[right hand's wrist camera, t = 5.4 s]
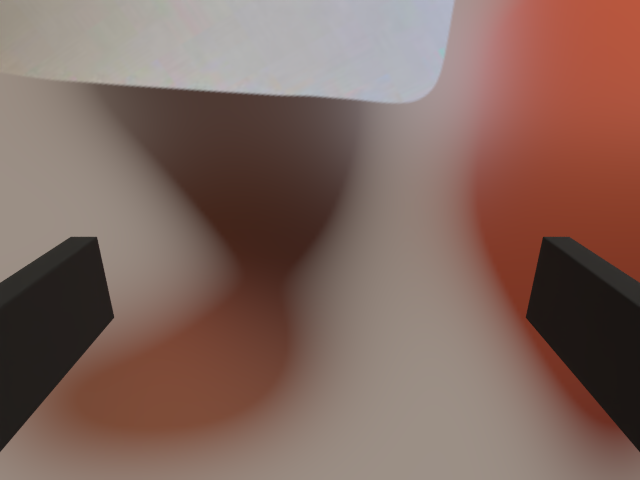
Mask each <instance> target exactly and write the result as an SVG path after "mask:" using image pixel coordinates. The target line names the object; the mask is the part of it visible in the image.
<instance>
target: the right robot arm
mask: <svg viewBox="0 0 640 480" xmlns="http://www.w3.org/2000/svg"><path fill="white" fill-rule="evenodd" d="M113 318H114V314H113V310H112V305H111V301H110V296H109V291H108V286H107V282H106V277H105V272H104V268H103V263H102V259H101V254H100V249H99V244H98V240H97V237H70V238H68V239H67V240H65V241H64V242H62V243H61V244H59V245H58V246H56V247H55V248H53V249H52V250H50V251H49V252H47V253H45V254H44V255H42V256H41V257H39V258H38V259H36V260H35V261H33V262H32V263H30V264H28V265H27V266H25V267H24V268H22V269H21V270H19V271H18V272H16V273H15V274H13V275H12V276H10V277H9V278H7V279H5V280H4V281H2V282H1V283H0V451H1V450H2V449H3V448H4V447H5V446H6V444H7V443H8V442H9V441H10V440H11V439H12V437H13V436H14V435H15V434H16V433H17V431H18V430H19V429H20V428H21V427H22V426H23V424H24V423H25V422H26V421H27V420H28V418H29V417H30V416H31V415H32V414H33V413H34V411H35V410H36V409H37V408H38V407H39V406H40V404H41V403H42V402H43V401H44V400H45V398H46V397H47V396H48V395H49V394H50V393H51V391H52V390H53V389H54V388H55V387H56V385H57V384H58V383H59V382H60V381H61V380H62V378H63V377H64V376H65V375H66V374H67V373H68V371H69V370H70V369H71V368H72V367H73V365H74V364H75V363H76V362H77V361H78V360H79V358H80V357H81V356H82V355H83V354H84V352H85V351H86V350H87V349H88V348H89V346H90V345H91V344H92V343H93V342H94V341H95V339H96V338H97V337H98V336H99V335H100V334H101V332H102V331H103V330H104V329H105V328H106V326H107V325H108V324H109V323H110V322H111V321H112V319H113ZM526 318H527V319H528V321H529V322H530V323H531V324H532V325H533V326H534V328H535V329H536V330H537V331H538V332H539V334H540V335H541V336H542V337H543V338H544V339H545V341H546V342H547V343H548V344H549V345H550V347H551V348H552V349H553V350H554V351H555V352H556V354H557V355H558V356H559V357H560V358H561V360H562V361H563V362H564V363H565V364H566V365H567V367H568V368H569V369H570V370H571V371H572V373H573V374H574V375H575V376H576V377H577V378H578V380H579V381H580V382H581V383H582V384H583V385H584V387H585V388H586V389H587V390H588V391H589V393H590V394H591V395H592V396H593V397H594V398H595V400H596V401H597V402H598V403H599V404H600V406H601V407H602V408H603V409H604V410H605V411H606V413H607V414H608V415H609V416H610V417H611V419H612V420H613V421H614V422H615V423H616V424H617V426H618V427H619V428H620V429H621V430H622V431H623V433H624V434H625V435H626V436H627V437H628V438H629V440H630V441H631V442H632V443H633V444H634V446H635V447H636V448H637V449H638V450H639V452H640V283H639V282H638V281H636V280H635V279H633V278H631V277H630V276H628V275H627V274H625V273H624V272H622V271H621V270H619V269H618V268H616V267H615V266H613V265H611V264H610V263H608V262H607V261H605V260H604V259H602V258H601V257H599V256H598V255H596V254H595V253H593V252H592V251H590V250H588V249H587V248H585V247H584V246H582V245H581V244H579V243H578V242H576V241H575V240H573V239H572V238H570V237H543V240H542V244H541V249H540V254H539V258H538V263H537V268H536V272H535V277H534V282H533V286H532V291H531V296H530V300H529V305H528V310H527V314H526Z"/></svg>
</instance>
